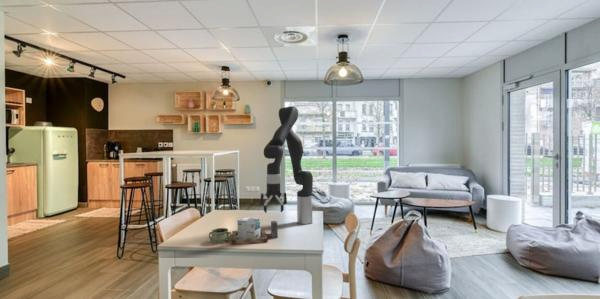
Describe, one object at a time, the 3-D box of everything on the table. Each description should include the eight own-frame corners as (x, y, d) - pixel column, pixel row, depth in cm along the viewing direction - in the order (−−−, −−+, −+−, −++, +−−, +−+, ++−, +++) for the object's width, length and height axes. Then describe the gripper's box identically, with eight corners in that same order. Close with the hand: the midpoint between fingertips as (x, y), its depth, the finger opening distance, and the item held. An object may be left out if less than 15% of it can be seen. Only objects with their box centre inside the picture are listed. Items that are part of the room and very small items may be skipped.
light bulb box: (261, 238, 170) (260, 218, 170) (255, 241, 163) (255, 221, 163) (243, 236, 173) (243, 216, 173) (237, 239, 167) (236, 219, 167)
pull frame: (275, 232, 180) (275, 218, 180) (279, 241, 162) (278, 226, 162) (232, 234, 175) (232, 220, 175) (231, 244, 158) (231, 229, 158)
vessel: (233, 239, 168) (233, 227, 168) (229, 244, 159) (229, 232, 159) (211, 239, 168) (211, 227, 168) (206, 244, 159) (205, 232, 159)
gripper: (285, 181, 176) (285, 210, 176) (259, 181, 173) (260, 211, 173) (287, 182, 168) (287, 213, 168) (260, 183, 166) (260, 214, 166)
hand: (273, 212), depth 171 cm, fingers open, 8 cm apart
